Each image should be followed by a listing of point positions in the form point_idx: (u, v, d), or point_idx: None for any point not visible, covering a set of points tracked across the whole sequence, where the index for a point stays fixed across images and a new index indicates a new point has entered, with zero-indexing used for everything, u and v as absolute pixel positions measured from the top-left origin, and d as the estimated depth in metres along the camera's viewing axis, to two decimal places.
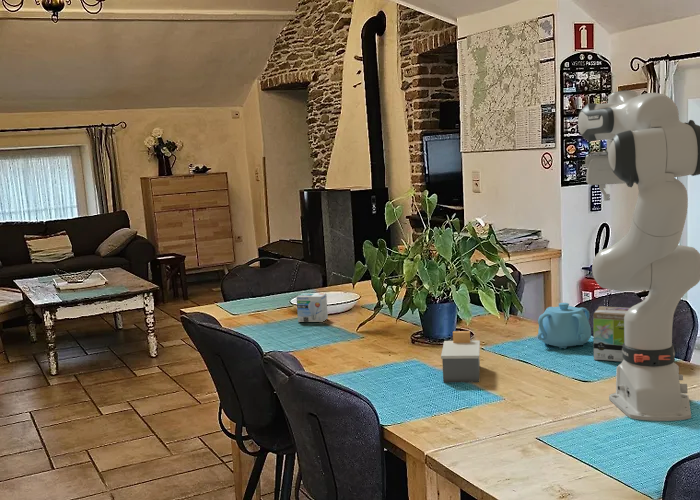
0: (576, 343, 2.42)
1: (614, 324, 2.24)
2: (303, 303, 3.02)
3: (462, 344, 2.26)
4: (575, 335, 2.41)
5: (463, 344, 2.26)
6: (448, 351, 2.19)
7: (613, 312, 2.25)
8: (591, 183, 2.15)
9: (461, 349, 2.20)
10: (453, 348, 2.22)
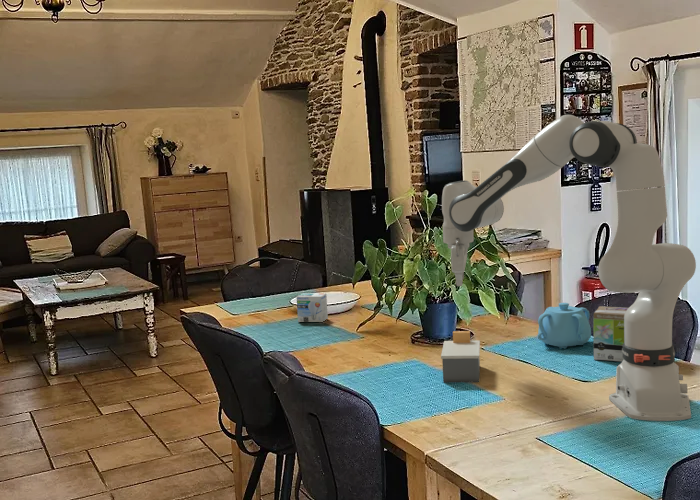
0: (576, 343, 2.42)
1: (614, 324, 2.24)
2: (303, 303, 3.02)
3: (462, 344, 2.26)
4: (575, 335, 2.41)
5: (463, 344, 2.26)
6: (448, 351, 2.19)
7: (613, 312, 2.25)
8: (464, 270, 2.17)
9: (461, 349, 2.20)
10: (453, 348, 2.22)
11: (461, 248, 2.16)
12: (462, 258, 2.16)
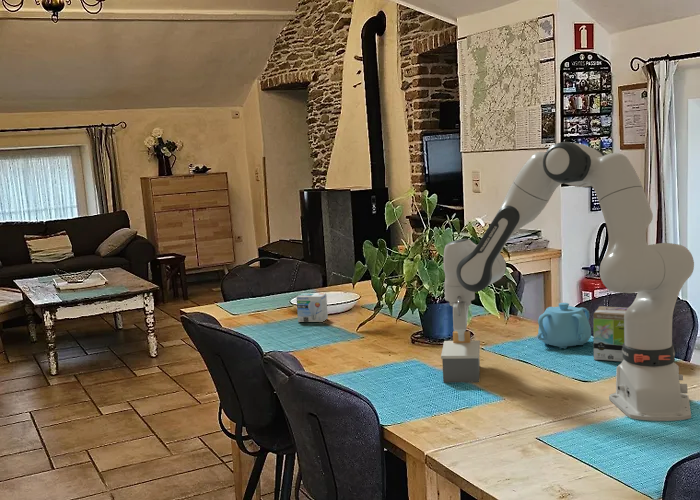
0: (576, 343, 2.42)
1: (614, 324, 2.24)
2: (303, 303, 3.02)
3: (462, 344, 2.26)
4: (575, 335, 2.41)
5: (463, 344, 2.26)
6: (448, 351, 2.19)
7: (613, 312, 2.25)
8: None
9: (461, 349, 2.20)
10: (453, 348, 2.22)
11: (463, 307, 2.19)
12: (464, 317, 2.18)
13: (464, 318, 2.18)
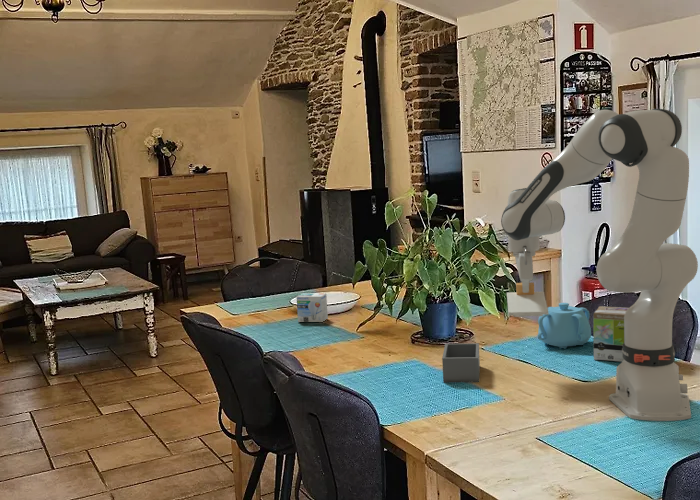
0: (576, 343, 2.42)
1: (614, 324, 2.24)
2: (303, 303, 3.02)
3: (527, 297, 2.21)
4: (575, 335, 2.41)
5: (528, 297, 2.21)
6: (514, 306, 2.14)
7: (613, 312, 2.25)
8: (532, 279, 2.14)
9: (527, 303, 2.16)
10: (519, 302, 2.17)
11: (530, 256, 2.13)
12: (531, 266, 2.13)
13: (531, 267, 2.13)
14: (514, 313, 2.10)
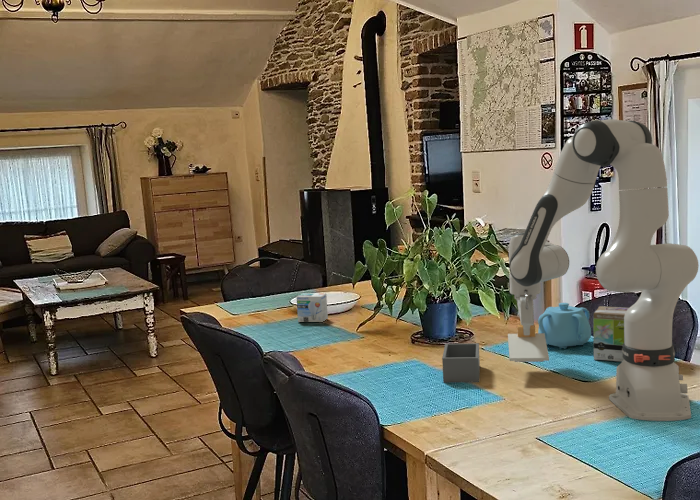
0: (576, 343, 2.42)
1: (614, 324, 2.24)
2: (303, 303, 3.02)
3: (527, 339, 2.23)
4: (575, 335, 2.41)
5: (528, 339, 2.23)
6: (515, 351, 2.16)
7: (613, 312, 2.25)
8: (533, 323, 2.16)
9: (528, 347, 2.18)
10: (519, 346, 2.19)
11: (531, 301, 2.15)
12: (532, 311, 2.15)
13: (532, 312, 2.15)
14: (515, 359, 2.12)
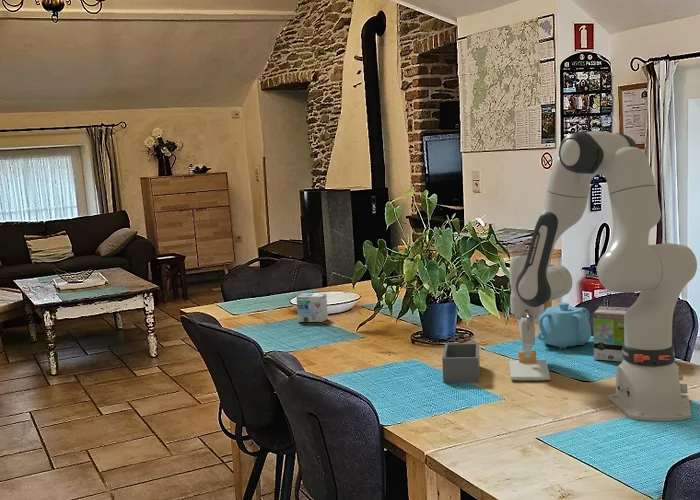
0: (576, 343, 2.42)
1: (614, 324, 2.24)
2: (303, 303, 3.02)
3: (529, 364, 2.24)
4: (575, 335, 2.41)
5: (530, 364, 2.24)
6: (517, 372, 2.17)
7: (613, 312, 2.25)
8: (534, 343, 2.16)
9: (529, 369, 2.18)
10: (521, 368, 2.20)
11: (532, 321, 2.16)
12: (533, 332, 2.15)
13: (533, 332, 2.15)
14: (516, 378, 2.13)
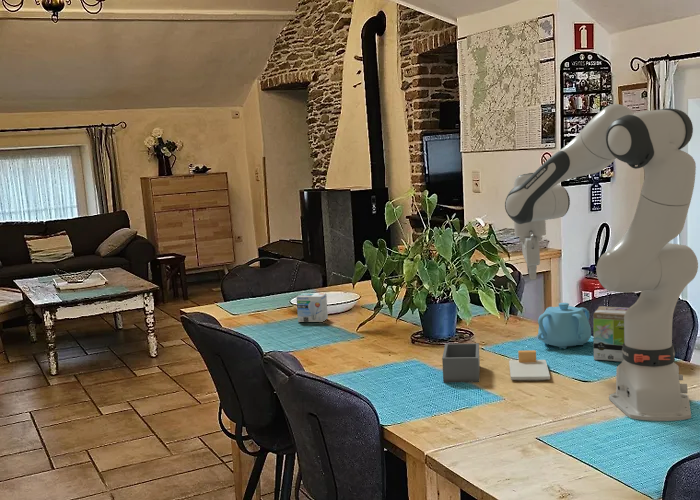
0: (576, 343, 2.42)
1: (614, 324, 2.24)
2: (303, 303, 3.02)
3: (529, 364, 2.24)
4: (575, 335, 2.41)
5: (530, 364, 2.24)
6: (516, 371, 2.17)
7: (613, 312, 2.25)
8: (539, 263, 2.14)
9: (529, 369, 2.19)
10: (521, 368, 2.20)
11: (536, 240, 2.13)
12: (538, 250, 2.13)
13: (538, 251, 2.13)
14: (516, 377, 2.13)
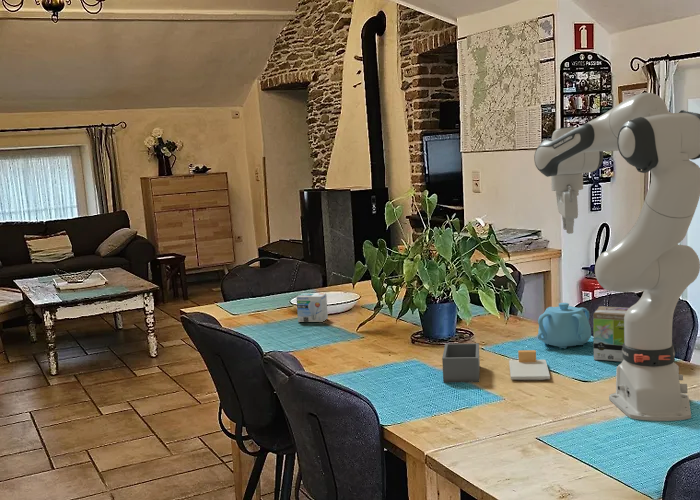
0: (576, 343, 2.42)
1: (614, 325, 2.24)
2: (303, 303, 3.02)
3: (529, 364, 2.24)
4: (575, 335, 2.41)
5: (530, 364, 2.24)
6: (516, 371, 2.17)
7: (613, 312, 2.25)
8: (577, 216, 2.14)
9: (529, 369, 2.19)
10: (521, 368, 2.20)
11: (574, 194, 2.14)
12: (576, 204, 2.13)
13: (576, 204, 2.13)
14: (516, 377, 2.13)
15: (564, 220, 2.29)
